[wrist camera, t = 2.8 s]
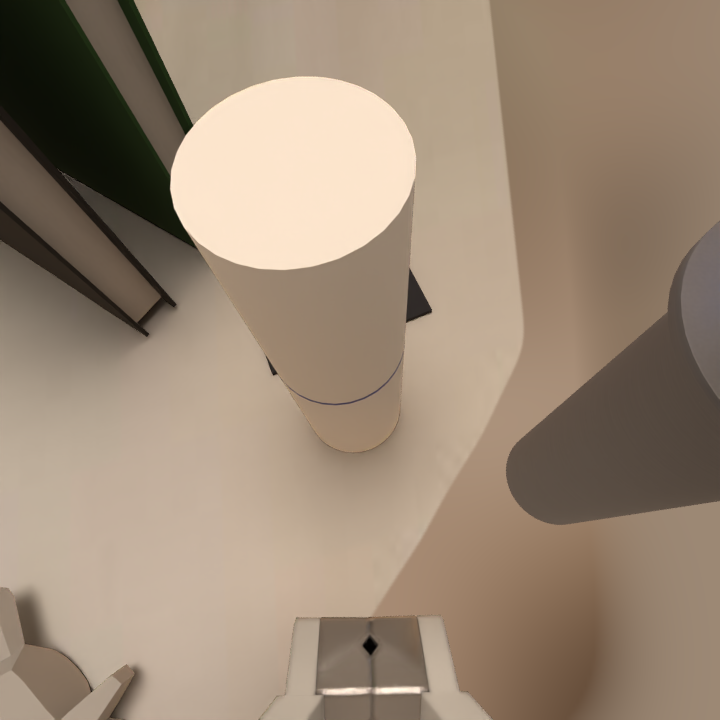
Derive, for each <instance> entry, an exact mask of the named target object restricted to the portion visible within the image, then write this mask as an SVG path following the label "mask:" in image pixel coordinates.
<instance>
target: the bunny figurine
mask: <svg viewBox="0 0 720 720" xmlns="http://www.w3.org/2000/svg"><path fill="white" fill-rule="evenodd" d="M133 676H134V672H133V671H132V670H131V669H130V668H129V666H128V665H125V666H124V667H122V668H121V669H119V670H118V671H116V672H115V673H114V674H112V675H111V676H110V677H109V678H107V679H106V680H105V681H104V682H103V683H102V684H100V685H99V686H98V687H97V688H96V689H95V690H94V691H92V692H91V691H90V688H89V685H88V682H87V680H86V678H85V677H84V676H83V674H82V673H81V672H80V670H79V669H78V668H77V667H76V666H75V665H74V664H73V663H72V662H71V661H70V660H69V659H68V658H67V657H65V656H64V655H62V654H61V653H59V652H57V651H56V650H54V649H49V648H43V647H38V646H33V645H28V644H25V642H24V637H23V633H22V628H21V624H20V619H19V615H18V610H17V606H16V601H15V597H14V595H13V594H12V592H11V591H10V590H9V588H3V587H0V720H124V719H115V718H109V717H110V715H111V714H112V712H113V710H114V709H115V707H116V706H117V704H118V702H119V700H120V699H121V697H122V695H123V693H124V692H125V690H126V688H127V686H128V685H129V683H130V681H131V680H132V678H133Z"/></svg>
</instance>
